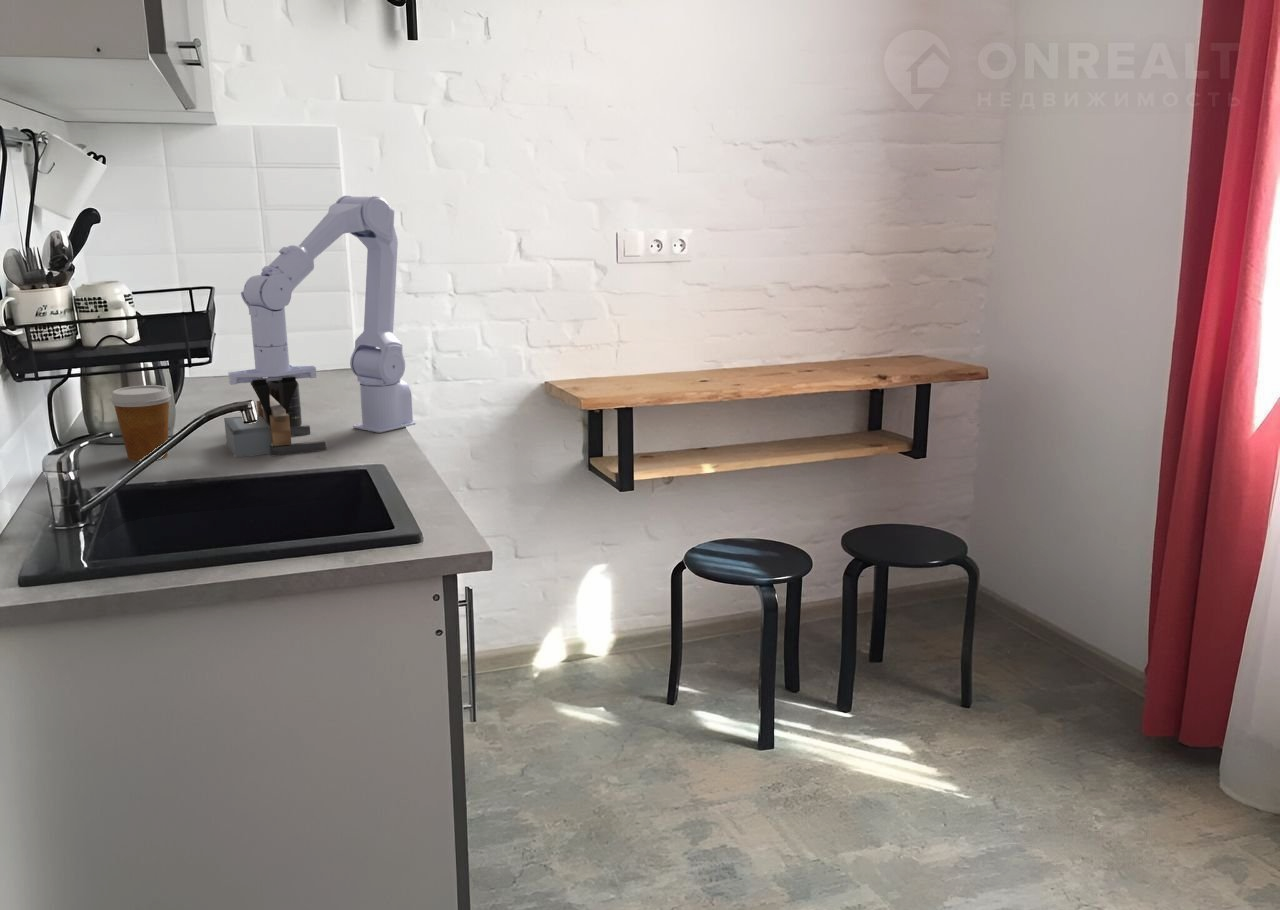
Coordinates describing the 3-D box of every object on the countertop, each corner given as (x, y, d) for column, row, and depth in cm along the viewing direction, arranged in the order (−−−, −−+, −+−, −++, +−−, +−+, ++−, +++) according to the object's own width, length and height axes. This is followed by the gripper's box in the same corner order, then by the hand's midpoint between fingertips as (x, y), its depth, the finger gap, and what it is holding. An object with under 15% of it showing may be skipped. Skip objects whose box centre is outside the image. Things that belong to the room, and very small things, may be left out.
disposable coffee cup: (113, 466, 182) (104, 396, 179) (123, 452, 191) (115, 386, 188) (173, 462, 184) (166, 393, 181) (181, 449, 193) (173, 383, 190)
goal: (261, 439, 200) (259, 414, 199) (272, 453, 190) (270, 426, 189) (226, 443, 197) (224, 418, 196) (235, 457, 187) (233, 430, 186)
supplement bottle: (258, 428, 209) (252, 367, 206) (284, 421, 215) (279, 362, 212) (283, 432, 206) (278, 370, 203) (309, 425, 212) (305, 365, 209)
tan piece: (276, 431, 203) (272, 394, 201) (291, 449, 190) (288, 409, 188) (259, 433, 202) (256, 395, 200) (274, 451, 188) (270, 411, 186)
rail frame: (309, 432, 206) (308, 425, 205) (326, 449, 193) (325, 441, 192) (257, 438, 201) (256, 430, 201) (271, 455, 188) (270, 447, 188)
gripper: (308, 339, 194) (313, 412, 198) (223, 344, 188) (230, 420, 191) (316, 344, 188) (322, 419, 192) (229, 350, 182) (236, 428, 185)
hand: (277, 420), depth 191 cm, fingers closed on tan piece, 2 cm apart
